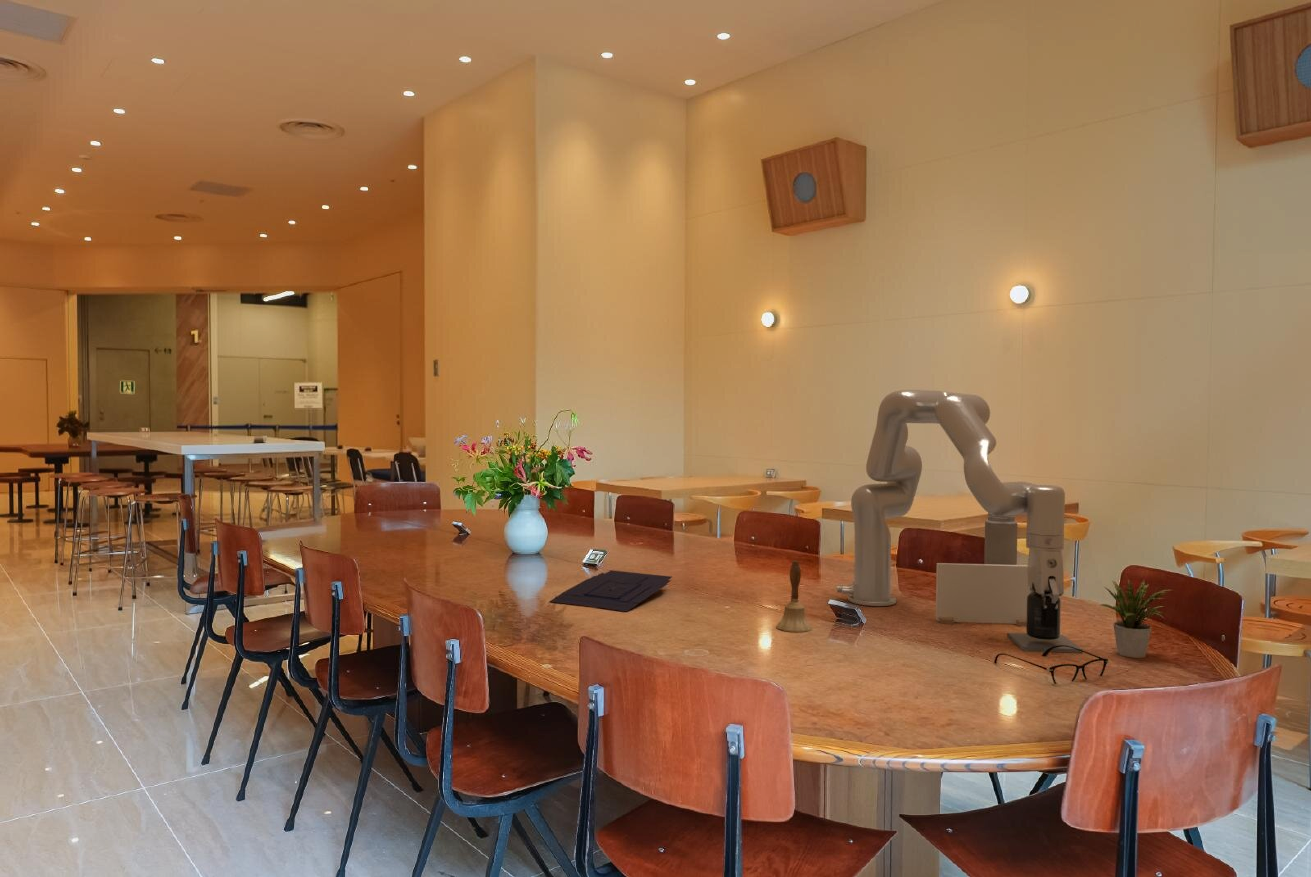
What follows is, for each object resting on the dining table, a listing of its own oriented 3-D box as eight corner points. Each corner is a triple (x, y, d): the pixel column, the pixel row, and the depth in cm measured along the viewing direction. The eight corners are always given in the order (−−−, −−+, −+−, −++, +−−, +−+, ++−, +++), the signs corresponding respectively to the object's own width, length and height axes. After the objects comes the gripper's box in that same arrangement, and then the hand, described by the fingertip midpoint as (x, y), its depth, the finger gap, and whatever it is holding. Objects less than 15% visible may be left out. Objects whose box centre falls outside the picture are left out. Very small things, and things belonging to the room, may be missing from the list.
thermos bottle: (979, 601, 229) (981, 498, 228) (1010, 602, 228) (1012, 498, 227) (988, 608, 221) (990, 501, 220) (1020, 609, 220) (1022, 501, 219)
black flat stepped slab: (679, 586, 242) (678, 574, 241) (628, 622, 215) (627, 608, 215) (605, 578, 253) (605, 566, 252) (548, 611, 227) (547, 598, 226)
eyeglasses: (1049, 688, 158) (1050, 667, 158) (986, 665, 173) (987, 645, 173) (1113, 678, 165) (1113, 657, 165) (1047, 656, 179) (1047, 637, 179)
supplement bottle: (1067, 638, 186) (1068, 583, 185) (1045, 642, 183) (1047, 586, 182) (1039, 630, 192) (1041, 578, 191) (1019, 634, 189) (1020, 580, 188)
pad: (1023, 650, 182) (1023, 647, 182) (1007, 636, 194) (1007, 632, 194) (1082, 653, 180) (1082, 649, 180) (1062, 638, 192) (1062, 634, 192)
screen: (939, 623, 205) (939, 565, 205) (934, 617, 211) (934, 561, 211) (1034, 626, 203) (1035, 568, 202) (1026, 620, 208) (1027, 563, 208)
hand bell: (815, 626, 203) (816, 559, 202) (806, 634, 195) (807, 565, 195) (782, 622, 206) (782, 556, 206) (771, 630, 199) (772, 562, 198)
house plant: (1172, 670, 168) (1174, 588, 168) (1094, 659, 176) (1095, 581, 175) (1173, 653, 181) (1175, 576, 180) (1100, 643, 188) (1101, 570, 187)
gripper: (1077, 548, 177) (1075, 633, 178) (1049, 536, 195) (1047, 613, 195) (1039, 547, 178) (1037, 631, 179) (1015, 535, 195) (1013, 612, 196)
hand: (1042, 621), depth 187 cm, fingers closed on supplement bottle, 6 cm apart
